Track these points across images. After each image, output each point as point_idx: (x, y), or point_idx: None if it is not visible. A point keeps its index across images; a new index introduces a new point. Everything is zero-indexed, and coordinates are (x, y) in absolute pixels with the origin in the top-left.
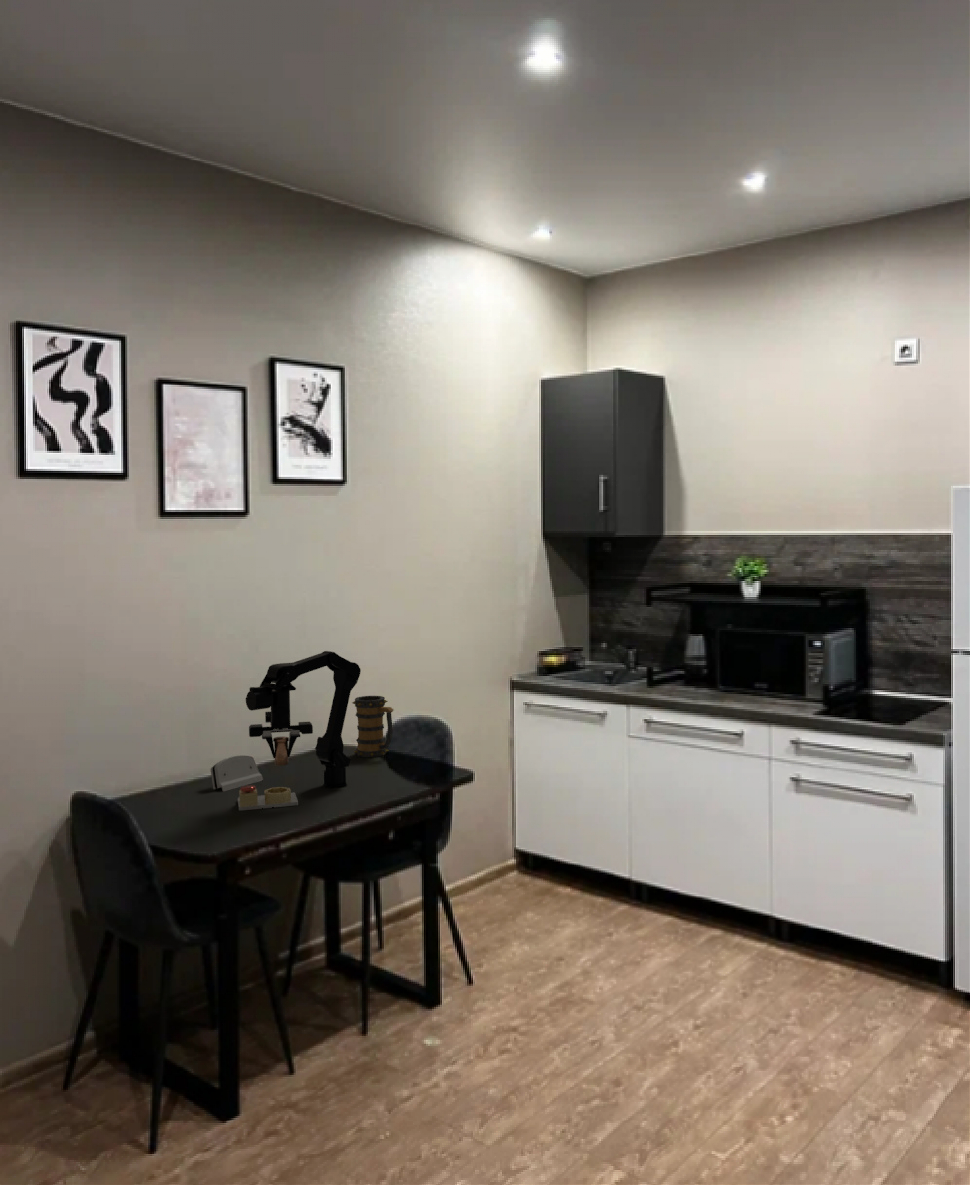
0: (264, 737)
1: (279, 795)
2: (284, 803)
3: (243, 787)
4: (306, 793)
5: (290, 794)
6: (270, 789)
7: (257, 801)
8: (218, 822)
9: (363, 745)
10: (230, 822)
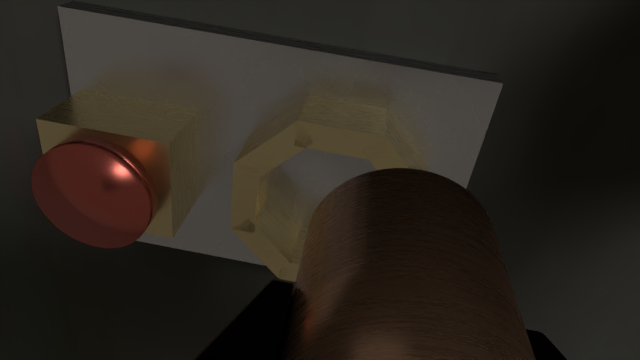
0: None
1: None
2: None
3: (54, 192)
4: (608, 56)
5: None
6: (282, 161)
7: (194, 202)
8: (27, 326)
9: None
10: (79, 348)
